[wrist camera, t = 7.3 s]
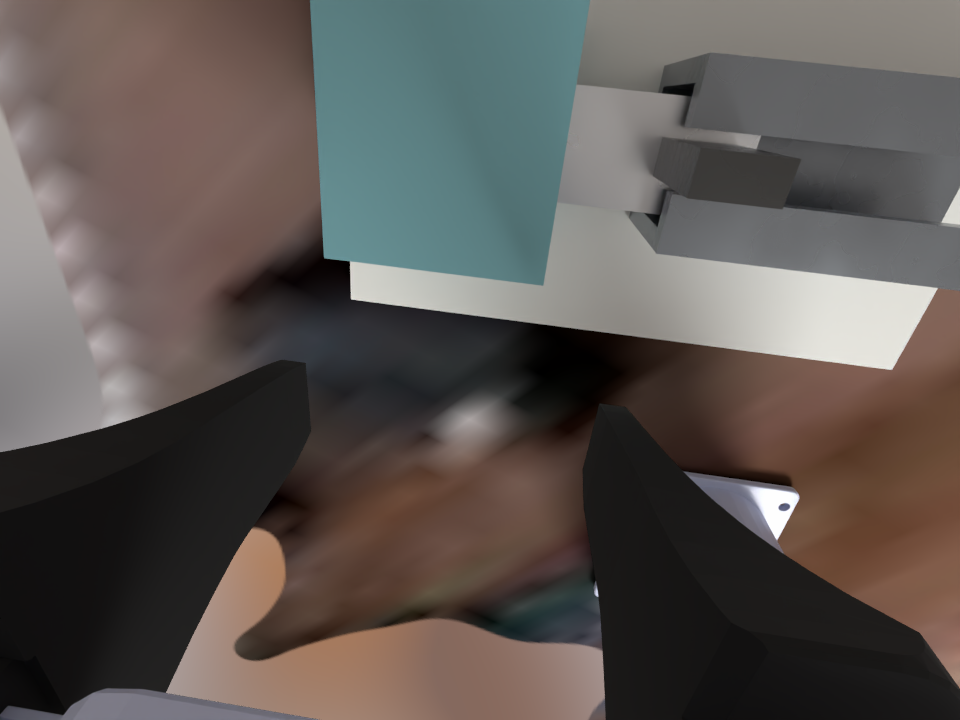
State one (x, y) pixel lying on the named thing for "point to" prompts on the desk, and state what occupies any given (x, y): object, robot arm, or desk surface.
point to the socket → (444, 130)
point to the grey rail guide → (825, 170)
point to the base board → (697, 282)
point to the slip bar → (662, 156)
